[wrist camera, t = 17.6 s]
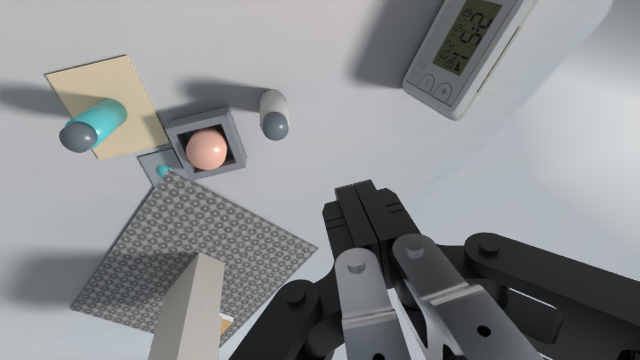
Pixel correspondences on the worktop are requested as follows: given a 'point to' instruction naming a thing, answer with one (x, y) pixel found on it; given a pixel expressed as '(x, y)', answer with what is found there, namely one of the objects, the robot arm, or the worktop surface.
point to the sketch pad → (119, 84)
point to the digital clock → (464, 52)
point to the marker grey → (274, 115)
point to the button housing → (220, 117)
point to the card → (161, 164)
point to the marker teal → (93, 125)
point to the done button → (207, 147)
